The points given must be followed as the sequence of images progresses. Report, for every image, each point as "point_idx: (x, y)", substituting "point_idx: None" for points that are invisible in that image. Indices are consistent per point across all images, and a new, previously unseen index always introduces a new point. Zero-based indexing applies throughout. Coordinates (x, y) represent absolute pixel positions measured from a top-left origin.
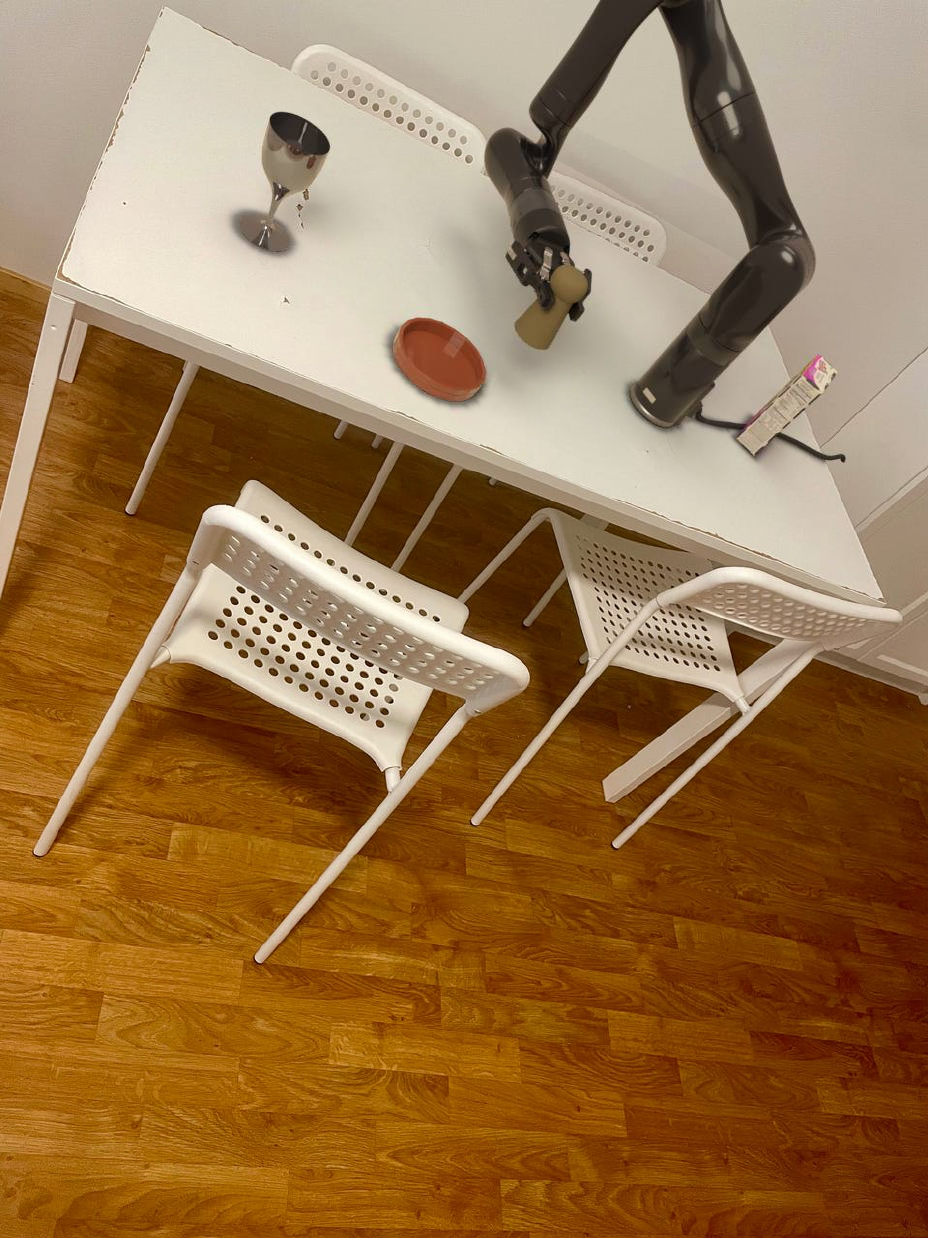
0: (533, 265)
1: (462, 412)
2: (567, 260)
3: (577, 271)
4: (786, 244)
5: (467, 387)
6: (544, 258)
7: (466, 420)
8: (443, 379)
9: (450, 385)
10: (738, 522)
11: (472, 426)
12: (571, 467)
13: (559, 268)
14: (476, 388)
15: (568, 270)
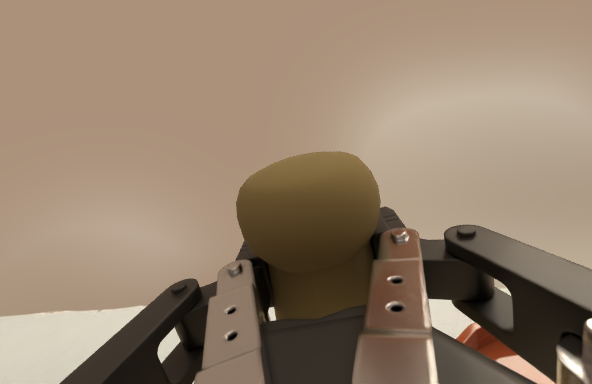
0: (473, 250)
1: (462, 326)
2: (219, 363)
3: (285, 165)
4: None
5: (476, 329)
6: (421, 288)
7: (450, 315)
8: (536, 375)
9: (512, 366)
10: (37, 338)
11: (437, 309)
12: (272, 314)
13: (362, 168)
14: (456, 339)
15: (330, 154)
